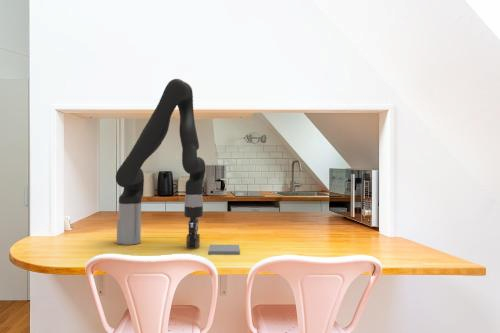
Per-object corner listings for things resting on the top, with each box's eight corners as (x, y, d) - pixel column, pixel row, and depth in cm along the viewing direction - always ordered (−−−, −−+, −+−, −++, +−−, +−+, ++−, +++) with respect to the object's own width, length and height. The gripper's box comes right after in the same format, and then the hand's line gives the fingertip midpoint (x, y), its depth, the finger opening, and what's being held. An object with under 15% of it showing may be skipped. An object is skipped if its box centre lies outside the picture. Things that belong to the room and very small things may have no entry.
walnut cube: (186, 248, 157) (186, 236, 157) (187, 245, 162) (187, 233, 162) (198, 248, 158) (198, 236, 158) (199, 245, 163) (199, 234, 163)
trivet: (208, 254, 147) (208, 251, 147) (209, 247, 159) (209, 244, 159) (239, 254, 148) (239, 251, 148) (239, 247, 160) (239, 244, 160)
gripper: (186, 203, 167) (185, 241, 167) (182, 207, 152) (181, 249, 153) (204, 203, 167) (203, 241, 167) (201, 207, 153) (200, 249, 153)
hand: (193, 245), depth 160 cm, fingers open, 6 cm apart
